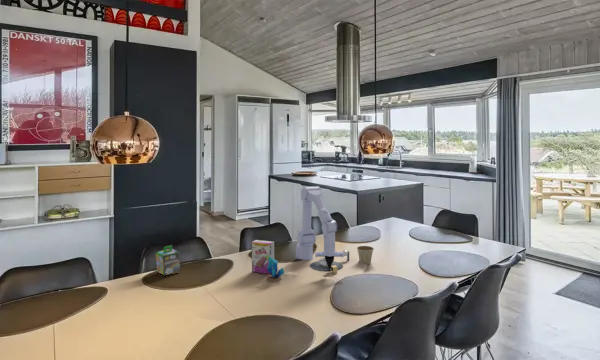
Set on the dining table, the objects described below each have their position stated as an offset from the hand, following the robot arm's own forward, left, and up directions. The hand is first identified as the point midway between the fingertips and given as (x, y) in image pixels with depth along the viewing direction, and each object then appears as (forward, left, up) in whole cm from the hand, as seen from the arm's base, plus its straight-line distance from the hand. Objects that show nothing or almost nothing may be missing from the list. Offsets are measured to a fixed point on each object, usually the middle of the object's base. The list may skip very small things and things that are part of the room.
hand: (329, 270), depth 189 cm
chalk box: (-80, -28, -2) cm, 85 cm away
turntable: (-4, +8, -1) cm, 9 cm away
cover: (-4, +9, -1) cm, 10 cm away
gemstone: (-23, -16, -2) cm, 29 cm away
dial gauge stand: (+4, +23, -2) cm, 23 cm away
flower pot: (+14, +24, -2) cm, 27 cm away
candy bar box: (-33, -9, -2) cm, 35 cm away
